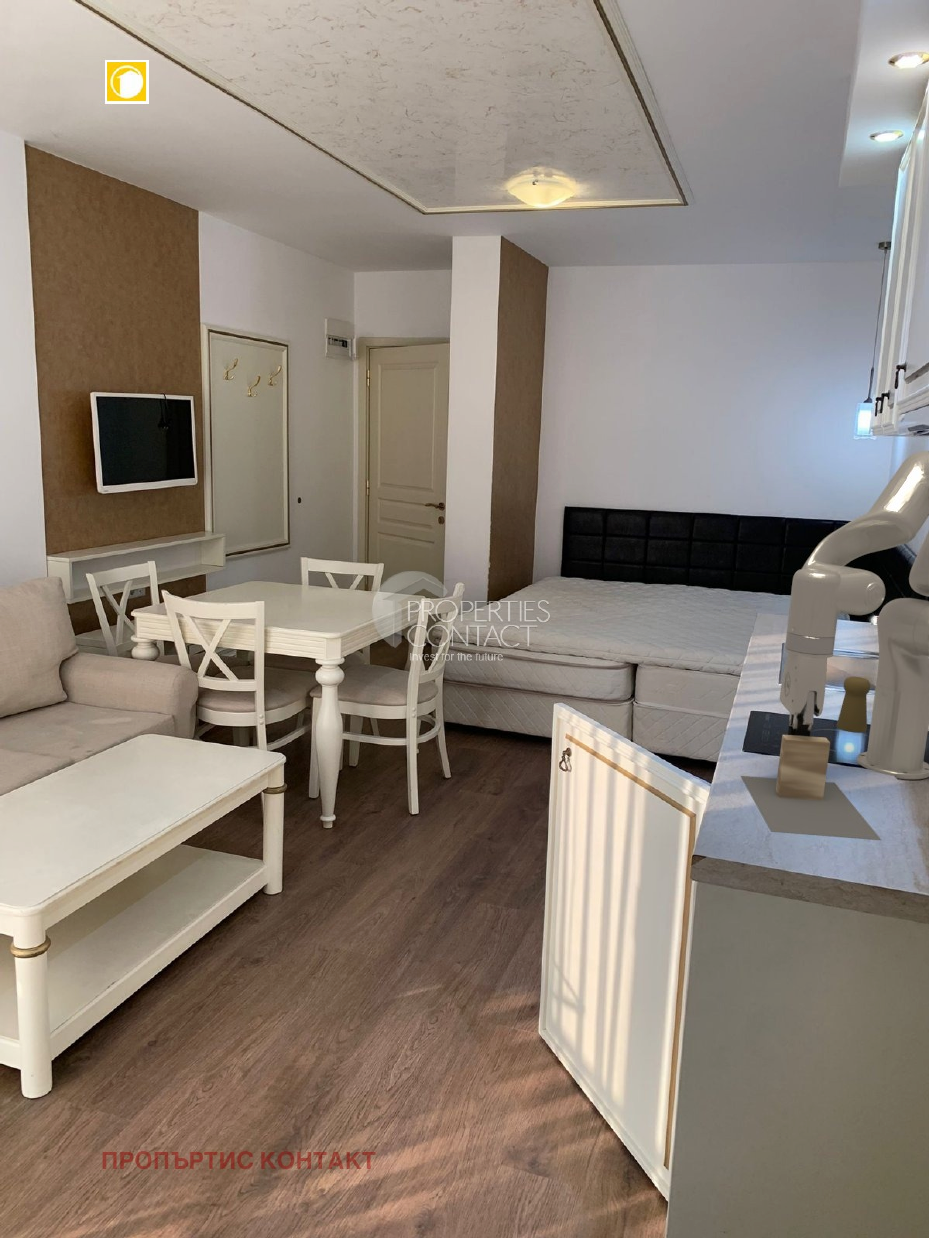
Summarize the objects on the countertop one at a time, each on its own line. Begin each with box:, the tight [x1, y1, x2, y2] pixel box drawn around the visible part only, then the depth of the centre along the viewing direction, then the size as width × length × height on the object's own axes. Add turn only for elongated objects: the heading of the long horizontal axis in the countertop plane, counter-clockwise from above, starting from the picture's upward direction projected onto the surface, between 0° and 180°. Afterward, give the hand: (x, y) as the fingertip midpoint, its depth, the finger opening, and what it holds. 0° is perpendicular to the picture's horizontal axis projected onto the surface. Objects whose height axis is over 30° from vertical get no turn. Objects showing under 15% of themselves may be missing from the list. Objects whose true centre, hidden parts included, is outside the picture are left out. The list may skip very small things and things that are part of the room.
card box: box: [776, 734, 831, 801], centre depth 154 cm, size 3×7×10 cm, turn 85°
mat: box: [740, 775, 882, 841], centre depth 151 cm, size 24×16×1 cm, turn 174°
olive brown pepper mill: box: [836, 676, 871, 734], centre depth 196 cm, size 6×6×11 cm
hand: (796, 750), depth 157 cm, fingers closed
